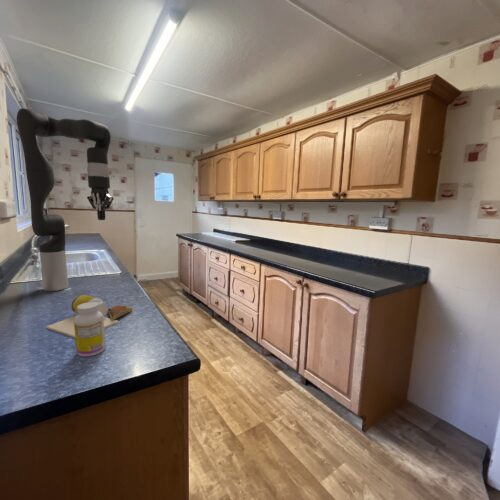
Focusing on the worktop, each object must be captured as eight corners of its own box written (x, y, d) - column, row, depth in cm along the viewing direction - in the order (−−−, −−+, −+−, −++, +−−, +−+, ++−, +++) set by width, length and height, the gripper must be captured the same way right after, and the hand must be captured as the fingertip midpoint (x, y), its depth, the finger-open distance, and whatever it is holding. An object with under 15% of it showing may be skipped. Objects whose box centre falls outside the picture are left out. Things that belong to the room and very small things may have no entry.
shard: (112, 321, 89) (112, 315, 88) (92, 318, 90) (92, 313, 90) (133, 311, 99) (133, 306, 99) (115, 309, 101) (115, 304, 101)
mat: (46, 328, 84) (46, 326, 84) (86, 313, 96) (86, 311, 96) (79, 339, 78) (79, 337, 78) (118, 322, 90) (118, 320, 89)
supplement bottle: (84, 344, 75) (81, 300, 73) (109, 344, 76) (106, 300, 74) (71, 358, 69) (66, 310, 66) (98, 357, 69) (95, 309, 67)
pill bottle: (66, 303, 91) (89, 310, 86) (82, 290, 95) (104, 295, 91) (76, 316, 94) (99, 323, 90) (91, 303, 99) (113, 309, 94)
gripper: (78, 175, 106) (82, 219, 109) (101, 174, 101) (104, 221, 104) (96, 177, 113) (99, 218, 116) (118, 176, 108) (121, 220, 110)
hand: (101, 219), depth 110 cm, fingers closed
